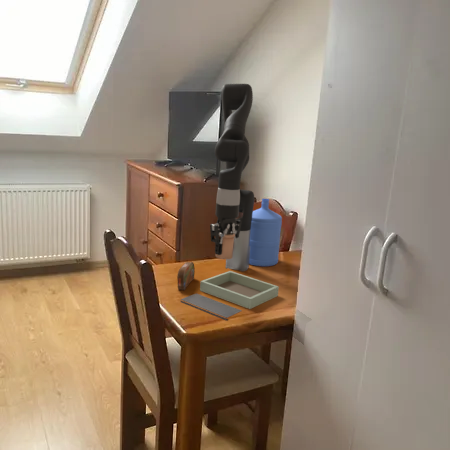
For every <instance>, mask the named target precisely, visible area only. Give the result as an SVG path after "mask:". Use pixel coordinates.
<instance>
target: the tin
mask: <svg viewBox="0 0 450 450" xmlns="http://www.w3.org/2000/svg"><path fill="white" fill-rule="evenodd" d="M195 273H196V271H195V264H194V262H193V261H192V262H191V261H190V262H189V261H185V262H184V264H182V266H181V267H180V268H179V269H178V272H177V275H176V277H177V289H178V290H181V291H186V289H187V287H188V286H189V284H190V283H191V282H192V281H194V280H195Z"/></svg>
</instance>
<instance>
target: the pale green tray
mask: <svg viewBox="0 0 450 450" xmlns="http://www.w3.org/2000/svg"><path fill="white" fill-rule="evenodd" d="M199 286H200V287H199V291H200V292H202V293H206V294H209V295H211V296H213V297H215V298H219V299H222V300H225V301H228V302H230V303H233V304H235V305H238V306H241V307H243V308H246V309H249V310H251V309H253V308H256V307H257V306H260V305H261V304H263V303H266V302H268V301H270V300H272V299H274V298H276V297H278V296H279V290H280V289H279V288H280V286H278V285H276V284H272V283H270V282H266V281H263V280H261V279H256V278H254V277H252V276H251V277H250V276H247V275H244V274H241V273H238V272H235V271H232V270H228V271H226V272H223V273H220V274H216V275H215V276H214V275H213V276H212V277H209V278H206V279H205V278H204V279H203V280H200V283H199Z"/></svg>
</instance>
